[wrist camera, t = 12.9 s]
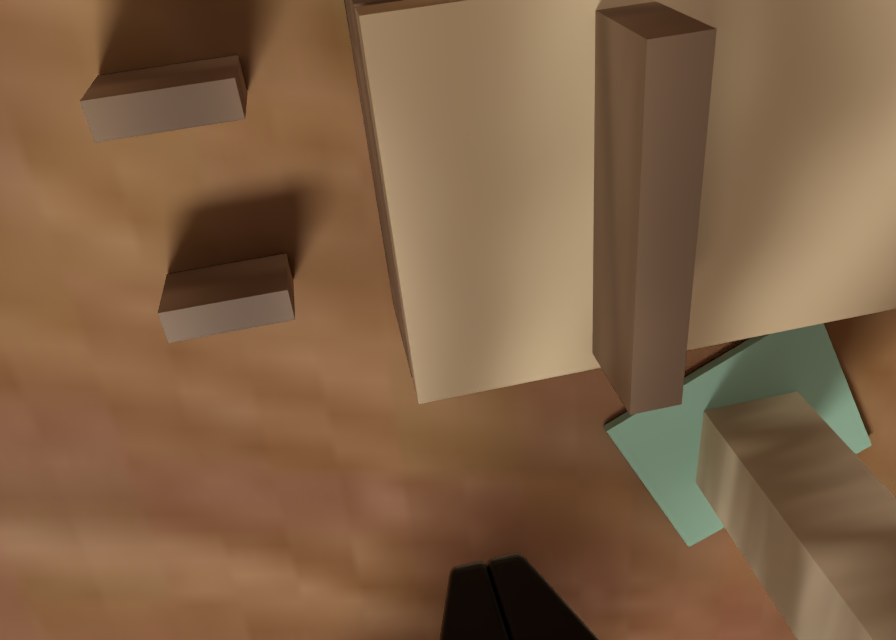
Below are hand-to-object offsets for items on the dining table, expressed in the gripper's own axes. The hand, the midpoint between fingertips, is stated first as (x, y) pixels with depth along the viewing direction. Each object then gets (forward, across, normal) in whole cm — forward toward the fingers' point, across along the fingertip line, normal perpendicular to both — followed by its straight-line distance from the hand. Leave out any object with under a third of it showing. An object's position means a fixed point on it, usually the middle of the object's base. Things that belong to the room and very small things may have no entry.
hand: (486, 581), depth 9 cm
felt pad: (+13, -12, +13) cm, 22 cm away
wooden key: (+13, -12, +13) cm, 22 cm away
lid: (+10, -8, 0) cm, 12 cm away
